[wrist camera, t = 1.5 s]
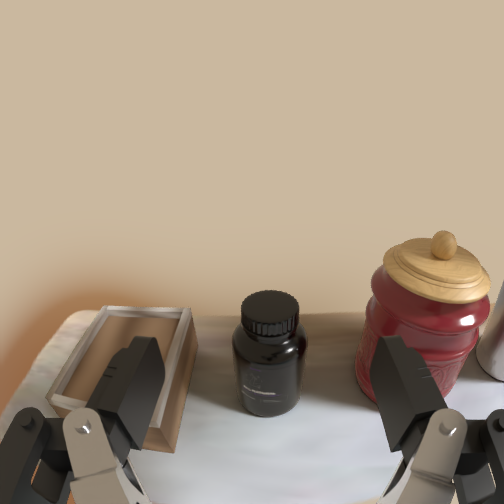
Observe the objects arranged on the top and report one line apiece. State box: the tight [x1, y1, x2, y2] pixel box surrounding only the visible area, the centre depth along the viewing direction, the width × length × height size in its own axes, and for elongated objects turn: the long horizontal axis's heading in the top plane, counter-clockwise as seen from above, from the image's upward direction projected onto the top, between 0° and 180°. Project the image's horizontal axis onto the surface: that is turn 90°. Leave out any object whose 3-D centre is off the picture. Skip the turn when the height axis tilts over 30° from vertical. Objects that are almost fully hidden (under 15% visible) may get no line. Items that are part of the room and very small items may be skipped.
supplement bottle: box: [232, 290, 308, 417], centre depth 27 cm, size 7×7×12 cm
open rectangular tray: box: [45, 306, 198, 453], centre depth 28 cm, size 12×16×6 cm
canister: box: [355, 231, 491, 403], centre depth 26 cm, size 13×13×18 cm
